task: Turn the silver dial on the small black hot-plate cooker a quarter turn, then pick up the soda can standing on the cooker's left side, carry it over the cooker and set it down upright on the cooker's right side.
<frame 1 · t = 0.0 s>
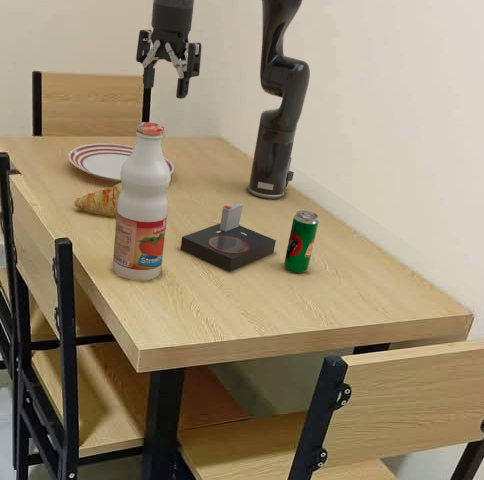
hand: (164, 92, 146), 29 cm above the table, tool pointing down, fingers open, 8 cm apart
cooker dial: (231, 216, 159), point 6 cm above the table, hinge at 0.0°
strawberry milk bottle: (136, 271, 143), on the table
hot plate ring: (228, 245, 152), resting on cooker
croissant: (119, 211, 169), on the table
soda can: (295, 269, 153), on the table
dinner plate: (120, 172, 192), on the table
cooker: (227, 251, 157), on the table
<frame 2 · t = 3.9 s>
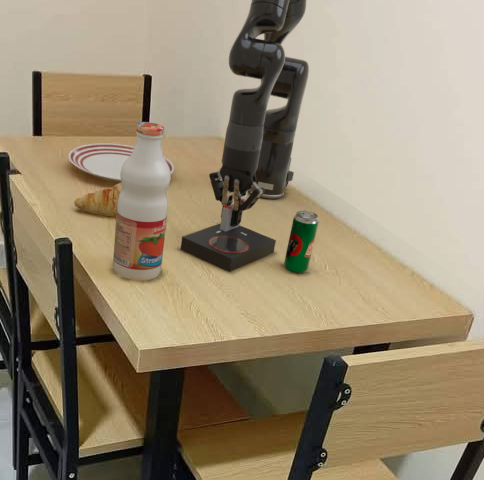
hand: (229, 223, 160), 4 cm above the table, tool pointing down, fingers closed on cooker dial
cooker dial: (231, 216, 159), point 6 cm above the table, hinge at 0.0°, touching gripper
everything else where it was.
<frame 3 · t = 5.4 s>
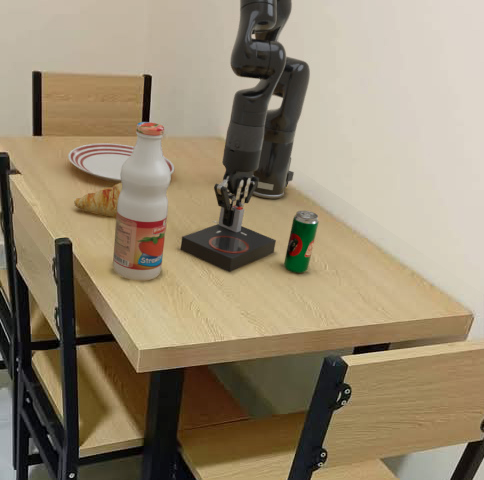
hand: (230, 224, 159), 4 cm above the table, tool pointing down, fingers closed on cooker dial
cooker dial: (231, 216, 159), point 6 cm above the table, hinge at 89.8°, touching gripper
everything else where it was.
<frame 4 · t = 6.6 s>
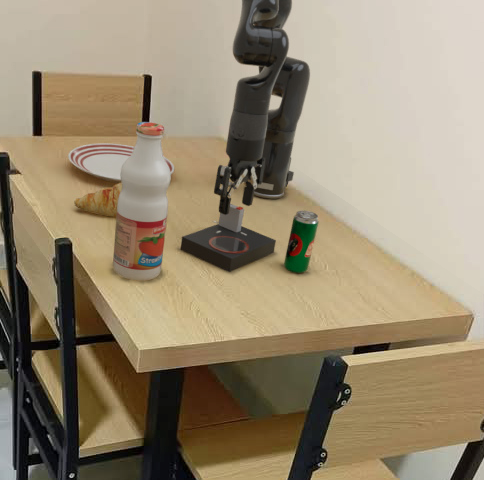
hand: (235, 209, 158), 7 cm above the table, tool pointing down, fingers open, 8 cm apart
cooker dial: (231, 216, 159), point 6 cm above the table, hinge at 90.0°
everything else where it was.
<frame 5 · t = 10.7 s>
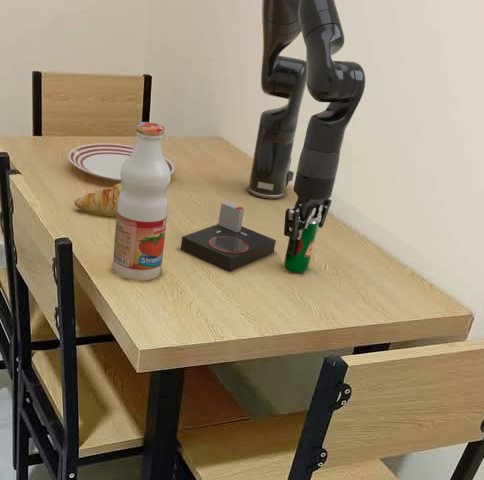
hand: (299, 251, 151), 4 cm above the table, tool pointing down, fingers closed on soda can, 5 cm apart
soda can: (295, 269, 153), on the table, touching gripper
everything else where it was.
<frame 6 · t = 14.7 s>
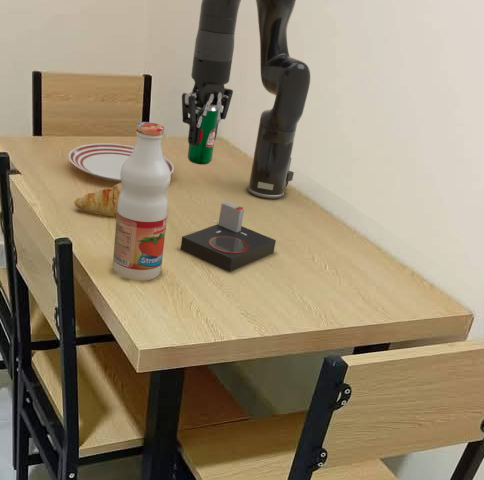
hand: (201, 142, 152), 20 cm above the table, tool pointing down, fingers closed on soda can, 5 cm apart
soda can: (199, 162, 154), point 16 cm above the table, touching gripper
everything else where it was.
when the fingers open (4 cm above the table, at t = 18.7 s): soda can stays where it is, on the table.
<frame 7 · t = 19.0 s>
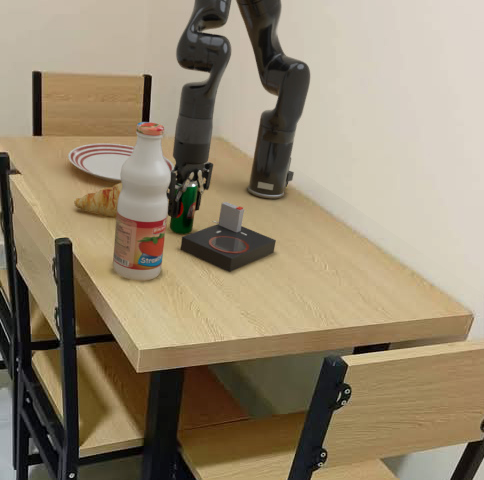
hand: (183, 212, 161), 4 cm above the table, tool pointing down, fingers open, 7 cm apart
soda can: (180, 231, 163), on the table
everything else where it was.
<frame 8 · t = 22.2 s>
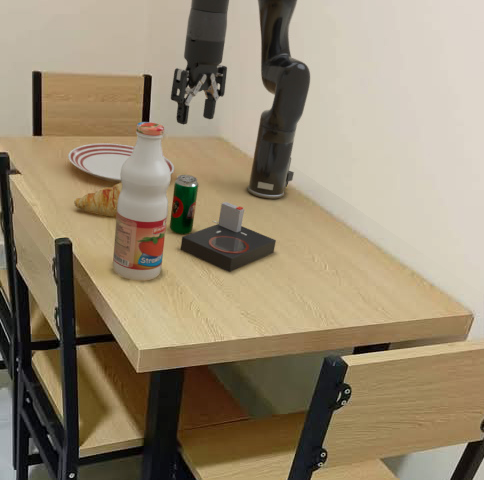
hand: (195, 120, 151), 24 cm above the table, tool pointing down, fingers open, 8 cm apart
nothing on the table moved.
at the end: cooker dial at +90° (first picture: +0°); soda can inside the target area on the table beside the cooker (0.6 cm from its centre), on the table; soda can tilted 0° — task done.
